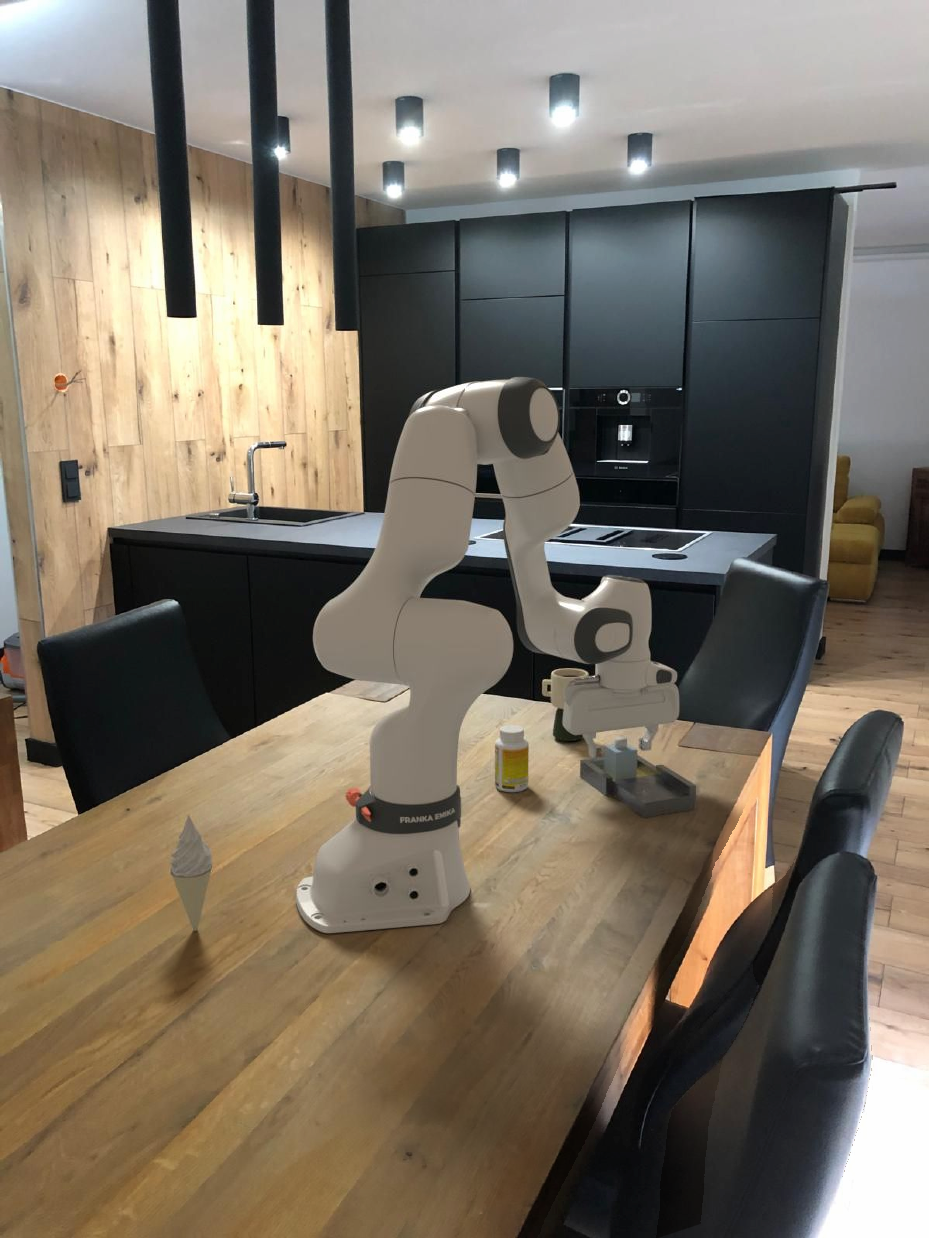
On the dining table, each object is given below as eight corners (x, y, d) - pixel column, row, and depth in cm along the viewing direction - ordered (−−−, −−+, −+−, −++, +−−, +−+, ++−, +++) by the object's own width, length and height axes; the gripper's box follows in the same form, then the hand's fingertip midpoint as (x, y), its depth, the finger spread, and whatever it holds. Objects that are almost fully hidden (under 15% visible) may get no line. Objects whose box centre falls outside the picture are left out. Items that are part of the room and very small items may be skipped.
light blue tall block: (615, 781, 164) (616, 744, 163) (603, 773, 168) (604, 736, 167) (636, 778, 166) (637, 741, 164) (624, 770, 169) (625, 733, 168)
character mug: (601, 736, 191) (603, 670, 189) (591, 747, 185) (593, 680, 182) (547, 729, 195) (548, 665, 193) (535, 740, 189) (536, 674, 186)
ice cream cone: (196, 944, 118) (188, 825, 114) (164, 934, 120) (156, 817, 117) (225, 925, 122) (218, 810, 119) (194, 915, 124) (187, 802, 121)
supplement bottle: (535, 788, 166) (535, 729, 163) (510, 796, 162) (510, 736, 160) (512, 778, 170) (513, 721, 168) (487, 786, 166) (487, 728, 164)
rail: (636, 818, 153) (637, 794, 152) (580, 776, 170) (580, 754, 170) (695, 809, 156) (696, 785, 156) (633, 768, 174) (634, 747, 173)
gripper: (574, 683, 157) (572, 767, 160) (685, 671, 164) (682, 751, 167) (556, 674, 163) (555, 754, 166) (665, 662, 170) (662, 740, 172)
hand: (620, 752), depth 166 cm, fingers open, 8 cm apart
